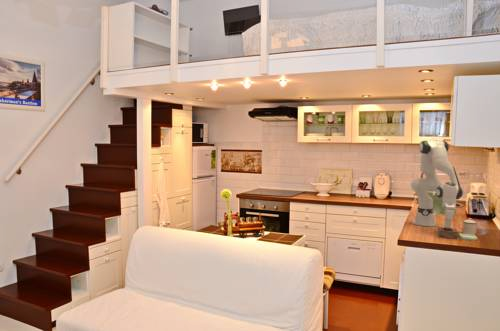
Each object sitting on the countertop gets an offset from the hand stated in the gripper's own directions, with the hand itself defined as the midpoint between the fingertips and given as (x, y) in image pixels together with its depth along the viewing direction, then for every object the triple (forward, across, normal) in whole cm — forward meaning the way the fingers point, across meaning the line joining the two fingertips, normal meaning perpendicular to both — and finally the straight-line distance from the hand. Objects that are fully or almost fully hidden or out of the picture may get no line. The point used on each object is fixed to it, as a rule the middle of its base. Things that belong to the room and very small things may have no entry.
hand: (448, 223), depth 282 cm
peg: (+8, 0, 0) cm, 8 cm away
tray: (+9, 0, +13) cm, 16 cm away
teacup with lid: (+10, -18, +15) cm, 25 cm away
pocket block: (+10, 0, 0) cm, 10 cm away
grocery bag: (+11, -100, 0) cm, 101 cm away
